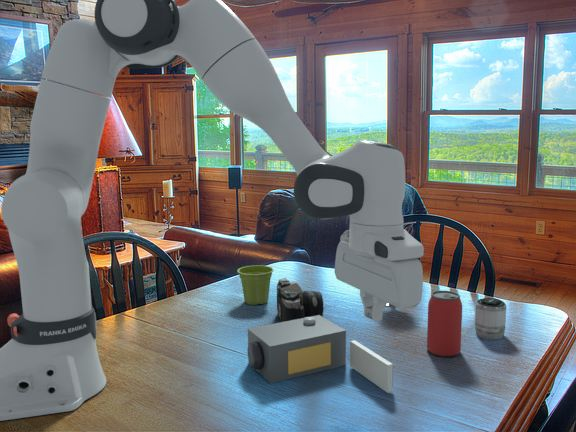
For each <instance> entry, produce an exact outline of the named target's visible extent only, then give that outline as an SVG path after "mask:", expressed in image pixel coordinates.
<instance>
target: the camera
mask: <svg viewBox="0 0 576 432" xmlns="http://www.w3.org/2000/svg"><path fill="white" fill-rule="evenodd" d="M276 309H277V310H276V311H277V315H278V317H279V319H280V321H281V322H285V321H291V320H296V319H301V318H305V317H311V316H317V315H320V316H322V317H323V318H324V298H323V295H322V293H321V292H320V291H316V290H311V291H309V290H303V289H302V287H301V286H300V284H299V283H298V282H297V281H296V280H292V281H290V280H288V279H287V278H286V277H284V278H279V280H278V281H277V284H276Z"/></svg>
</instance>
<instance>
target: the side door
mask: <svg viewBox="0 0 576 432" xmlns="http://www.w3.org/2000/svg"><path fill="white" fill-rule="evenodd" d="M349 367H350V368H352V369H353V370H355V371H356V372H357V373H359V374H361V376H363V377H365V378H366V379H367V380H369V381H370V382H371V383H373V384H374V385H376V386H377V387H378V388H380V389H381V390H382V391H384V392H386V393H387V394H388V393H391V392H393V387H394V363H392V362H391V361H389V360H387V359H385V358H384V357H382V356H381V355H380V354H378V353H376V352H374V351H373V350H371V349H370V348H368V347H366V346H365V345H363V344H362V343H360V342H359V341H357V340H354V339H353V340H350V341H349Z"/></svg>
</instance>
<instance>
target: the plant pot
mask: <svg viewBox="0 0 576 432" xmlns="http://www.w3.org/2000/svg"><path fill="white" fill-rule="evenodd" d="M236 272H237V273H238V275H239V278H240V282H241V287H242V292H243V300H244V303H246V304H247V305H252V306H257V305H259V304H261V305H265V304H266V303H268V302H269V297H270V296H269V295H270V286H271V277H272V275H273V272H274V268H273V267H272V266H267V265H257V264H256V265H246V266H242V267H240V268H237V270H236Z"/></svg>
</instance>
